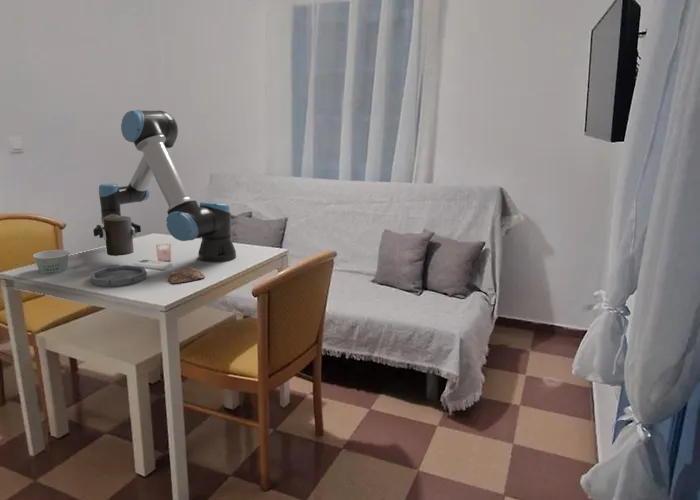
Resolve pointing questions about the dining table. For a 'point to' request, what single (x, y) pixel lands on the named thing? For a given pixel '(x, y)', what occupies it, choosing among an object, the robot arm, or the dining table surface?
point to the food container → (52, 261)
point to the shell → (185, 275)
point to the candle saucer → (118, 276)
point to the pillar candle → (118, 235)
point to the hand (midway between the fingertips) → (119, 234)
